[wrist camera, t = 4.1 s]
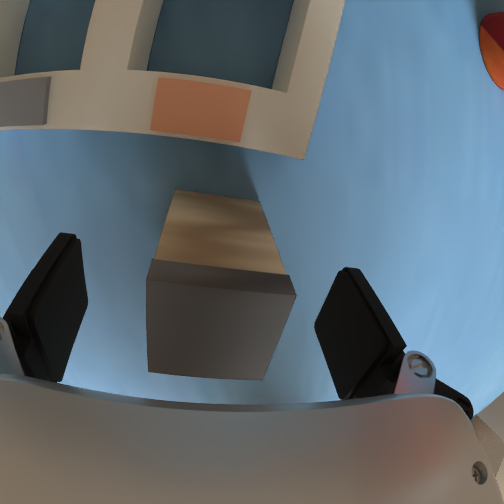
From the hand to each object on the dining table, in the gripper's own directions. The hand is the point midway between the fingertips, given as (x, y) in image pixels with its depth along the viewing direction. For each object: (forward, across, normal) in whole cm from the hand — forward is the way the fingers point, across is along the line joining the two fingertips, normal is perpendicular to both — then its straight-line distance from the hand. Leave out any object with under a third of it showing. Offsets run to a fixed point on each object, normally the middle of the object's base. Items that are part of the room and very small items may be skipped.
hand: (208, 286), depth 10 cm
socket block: (+5, +5, -9) cm, 12 cm away
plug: (+5, 0, +1) cm, 5 cm away
